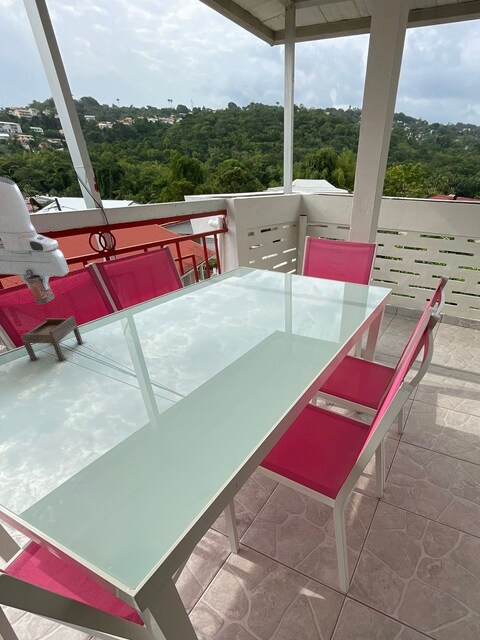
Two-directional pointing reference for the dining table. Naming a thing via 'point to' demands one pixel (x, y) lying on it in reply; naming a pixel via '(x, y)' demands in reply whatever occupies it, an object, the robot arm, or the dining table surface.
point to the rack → (51, 334)
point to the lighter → (39, 288)
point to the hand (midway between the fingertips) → (39, 289)
